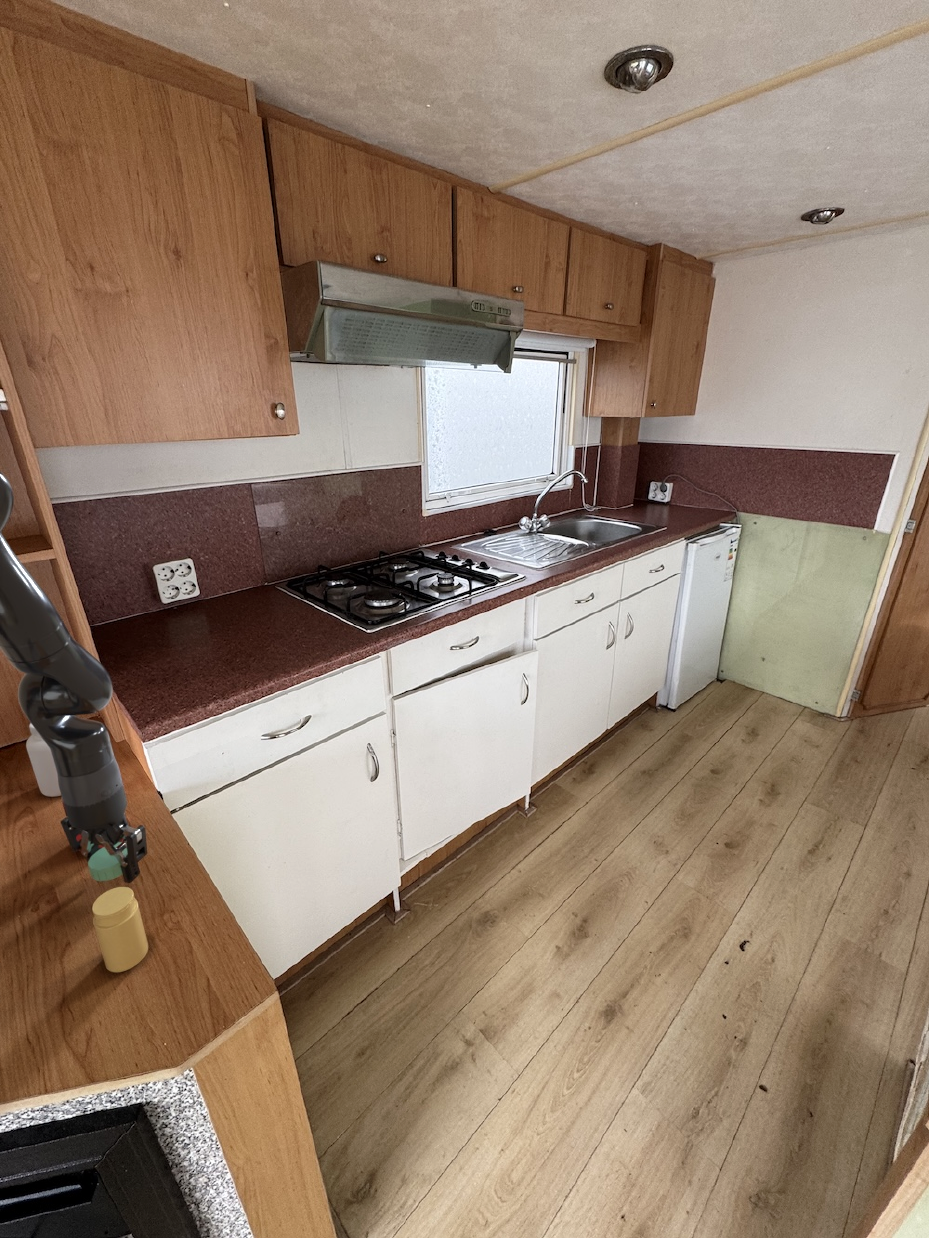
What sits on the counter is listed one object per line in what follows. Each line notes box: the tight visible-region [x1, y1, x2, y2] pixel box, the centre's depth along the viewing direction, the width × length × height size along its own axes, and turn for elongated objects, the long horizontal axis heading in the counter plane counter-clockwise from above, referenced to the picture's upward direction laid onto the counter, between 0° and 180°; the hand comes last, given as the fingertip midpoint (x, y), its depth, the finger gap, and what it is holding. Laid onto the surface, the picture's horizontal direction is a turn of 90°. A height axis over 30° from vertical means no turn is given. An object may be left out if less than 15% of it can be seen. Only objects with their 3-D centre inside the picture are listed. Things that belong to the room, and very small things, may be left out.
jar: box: [91, 886, 149, 973], centre depth 73 cm, size 5×5×10 cm
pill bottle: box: [25, 722, 62, 798], centre depth 106 cm, size 8×8×15 cm
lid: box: [87, 841, 128, 882], centre depth 85 cm, size 6×6×2 cm
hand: (115, 874), depth 86 cm, fingers closed on lid, 6 cm apart
